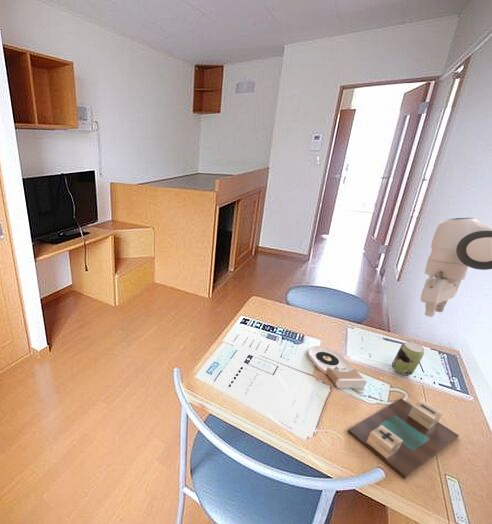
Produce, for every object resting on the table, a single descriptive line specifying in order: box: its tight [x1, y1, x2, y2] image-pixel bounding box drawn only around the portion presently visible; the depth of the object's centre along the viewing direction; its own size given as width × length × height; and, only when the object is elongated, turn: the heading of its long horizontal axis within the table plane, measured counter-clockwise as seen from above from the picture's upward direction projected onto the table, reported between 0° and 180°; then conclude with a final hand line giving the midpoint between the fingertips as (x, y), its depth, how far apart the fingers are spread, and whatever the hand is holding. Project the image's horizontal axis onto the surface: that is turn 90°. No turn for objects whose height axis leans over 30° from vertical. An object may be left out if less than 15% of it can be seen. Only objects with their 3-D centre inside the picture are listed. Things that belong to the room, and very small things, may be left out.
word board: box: [347, 398, 460, 480], centre depth 83 cm, size 26×14×5 cm, turn 115°
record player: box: [307, 345, 367, 389], centre depth 109 cm, size 12×3×20 cm
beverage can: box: [391, 340, 425, 376], centre depth 105 cm, size 6×7×12 cm
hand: (433, 313), depth 95 cm, fingers open, 8 cm apart
